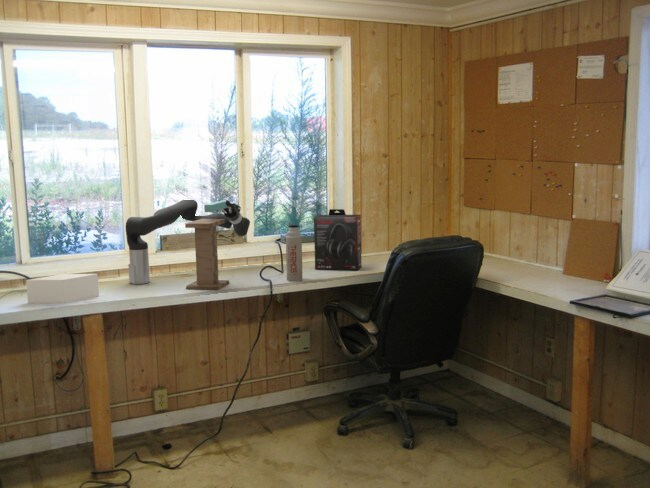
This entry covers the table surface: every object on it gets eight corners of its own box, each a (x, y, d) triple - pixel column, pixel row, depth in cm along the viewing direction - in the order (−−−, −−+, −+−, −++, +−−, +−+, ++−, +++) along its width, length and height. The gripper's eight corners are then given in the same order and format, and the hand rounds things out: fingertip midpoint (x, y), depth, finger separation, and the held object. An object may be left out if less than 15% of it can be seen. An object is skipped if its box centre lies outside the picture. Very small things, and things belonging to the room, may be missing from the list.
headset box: (314, 269, 360) (313, 210, 355) (319, 265, 372) (318, 207, 367) (358, 271, 354) (357, 210, 349) (361, 266, 367) (361, 208, 362)
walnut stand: (200, 281, 332) (197, 218, 327) (230, 282, 329) (228, 219, 324) (184, 290, 313) (181, 223, 308) (216, 291, 310) (213, 223, 305)
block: (100, 299, 296) (99, 276, 294) (28, 307, 284) (26, 283, 282) (97, 293, 310) (96, 271, 308) (28, 300, 297) (26, 277, 296)
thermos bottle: (298, 281, 328) (297, 226, 324) (284, 280, 331) (282, 225, 327) (305, 278, 335) (304, 224, 331) (290, 277, 338) (289, 224, 334)
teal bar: (223, 206, 345) (223, 200, 345) (229, 206, 344) (229, 200, 344) (204, 212, 320) (204, 205, 319) (211, 212, 319) (211, 205, 319)
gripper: (244, 221, 352) (234, 208, 336) (219, 221, 355) (208, 208, 339) (246, 208, 355) (236, 195, 339) (221, 208, 357) (210, 195, 342)
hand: (222, 201), depth 339 cm, fingers closed on teal bar, 3 cm apart
